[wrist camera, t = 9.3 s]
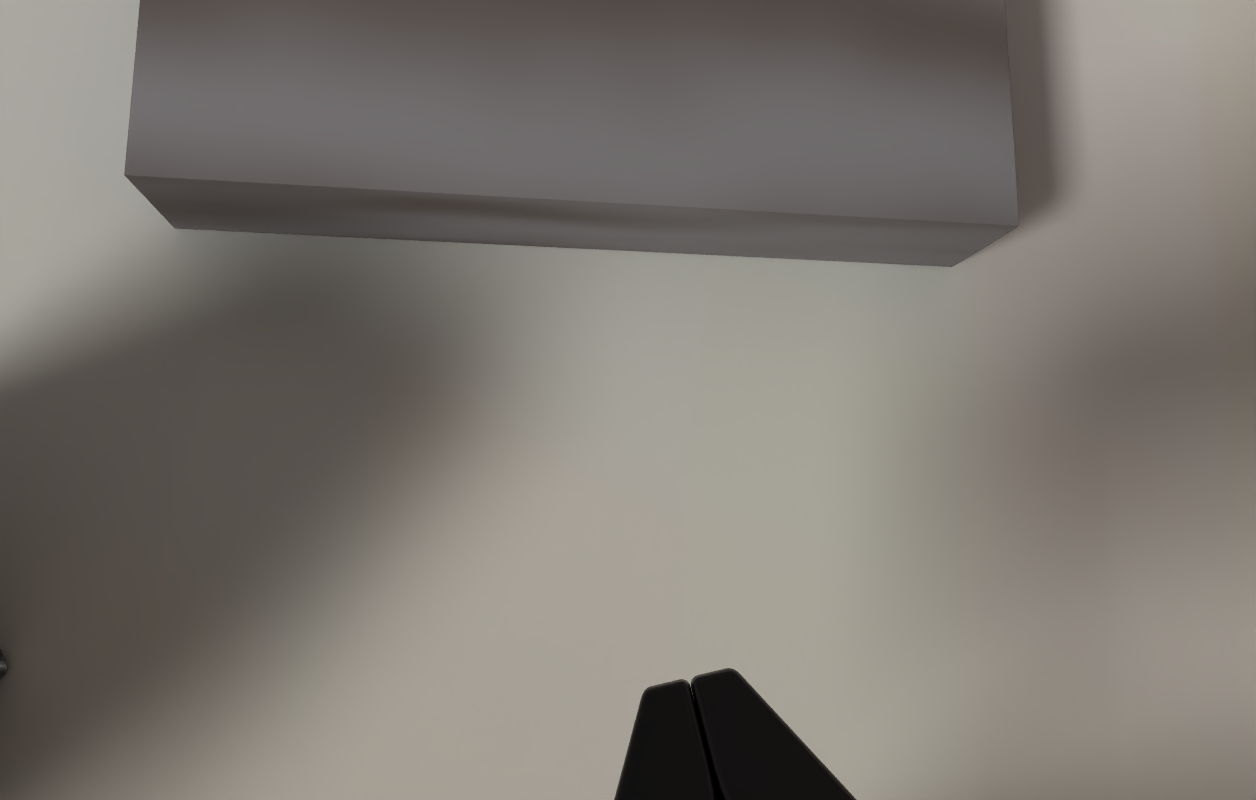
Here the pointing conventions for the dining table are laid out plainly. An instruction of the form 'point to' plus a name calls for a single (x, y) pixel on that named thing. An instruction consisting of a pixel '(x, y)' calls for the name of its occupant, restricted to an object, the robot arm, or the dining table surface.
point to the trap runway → (584, 123)
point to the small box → (2, 665)
